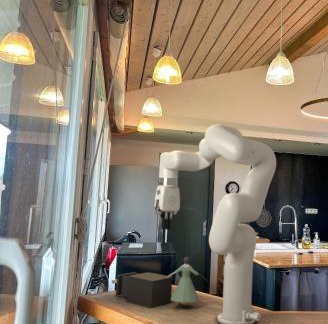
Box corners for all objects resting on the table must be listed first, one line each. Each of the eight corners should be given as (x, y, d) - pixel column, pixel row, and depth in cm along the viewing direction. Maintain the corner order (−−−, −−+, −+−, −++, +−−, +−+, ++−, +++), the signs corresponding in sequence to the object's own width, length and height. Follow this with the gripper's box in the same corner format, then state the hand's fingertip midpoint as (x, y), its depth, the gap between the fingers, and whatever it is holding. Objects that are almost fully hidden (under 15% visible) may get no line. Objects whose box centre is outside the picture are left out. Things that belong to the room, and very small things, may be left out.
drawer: (107, 293, 152) (109, 273, 152) (125, 289, 159) (127, 270, 160) (137, 300, 142) (138, 279, 143) (154, 296, 149) (155, 276, 150)
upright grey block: (126, 301, 144) (128, 275, 145) (146, 296, 153) (148, 272, 153) (151, 307, 137) (152, 281, 138) (171, 302, 145) (172, 276, 146)
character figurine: (209, 304, 144) (211, 255, 146) (207, 310, 136) (209, 259, 137) (167, 303, 144) (170, 254, 145) (162, 309, 135) (165, 257, 137)
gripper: (160, 182, 146) (158, 230, 144) (187, 184, 158) (185, 229, 156) (147, 182, 150) (144, 229, 148) (174, 184, 162) (172, 227, 160)
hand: (165, 229), depth 152 cm, fingers closed
